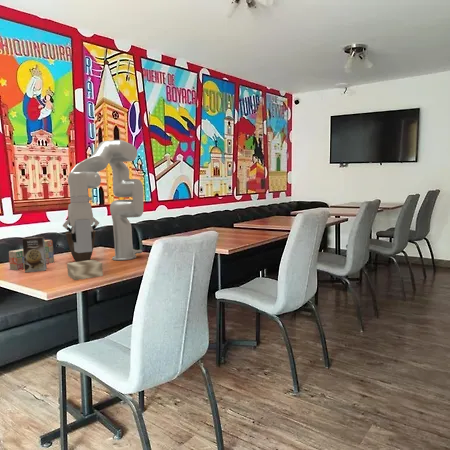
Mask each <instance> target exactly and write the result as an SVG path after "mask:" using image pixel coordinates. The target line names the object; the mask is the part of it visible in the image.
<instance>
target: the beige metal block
mask: <svg viewBox="0 0 450 450" xmlns="http://www.w3.org/2000/svg"><path fill="white" fill-rule="evenodd" d="M66 266H67V268H66V269H67V276H68V277H69V278H71V279H72V280H73V281H79V279H81V280H86V278H87V279H93V278H98V277H103V276H104V272H103V271H104V270H103V269H104V268H103V262H100V261H99V260H95V259H90V260H87V261H80V262H75V261H74V262H67V263H66Z"/></svg>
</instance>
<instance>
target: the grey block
mask: <svg viewBox="0 0 450 450" xmlns="http://www.w3.org/2000/svg"><path fill="white" fill-rule="evenodd" d="M91 226H92V225H91ZM91 226H90V219H89V220H76V221H75V234H76V242H74V251H75V252H77V253H83V252H92V240H91ZM92 253H93V252H92Z"/></svg>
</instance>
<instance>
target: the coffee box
mask: <svg viewBox="0 0 450 450" xmlns="http://www.w3.org/2000/svg"><path fill="white" fill-rule="evenodd" d="M45 240H46V239H45V236H33V237H31V236H30V237H23V238H22V249H23V253H24V265H25V269H24V273H31V272H33V273H34V272H45V271H46V270H47V268H48V267H47V264H46V254H45Z"/></svg>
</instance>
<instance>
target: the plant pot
mask: <svg viewBox="0 0 450 450" xmlns="http://www.w3.org/2000/svg"><path fill="white" fill-rule="evenodd" d="M92 233H93V239H92V252H83V253H77V252H75V251H74V242H73V241H72V237H71V233H70V232H69V231H66V232H65V237H66V240H67V241H66V242H67V244H68V248H69V251H70V253H71V255H72V256H71V257H72V258H73V260H74V262H80V261H87V260H92V259H91V258H92V256H93V252H94V246H95V240H96V230H95V229H94V230H93V232H92Z"/></svg>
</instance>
